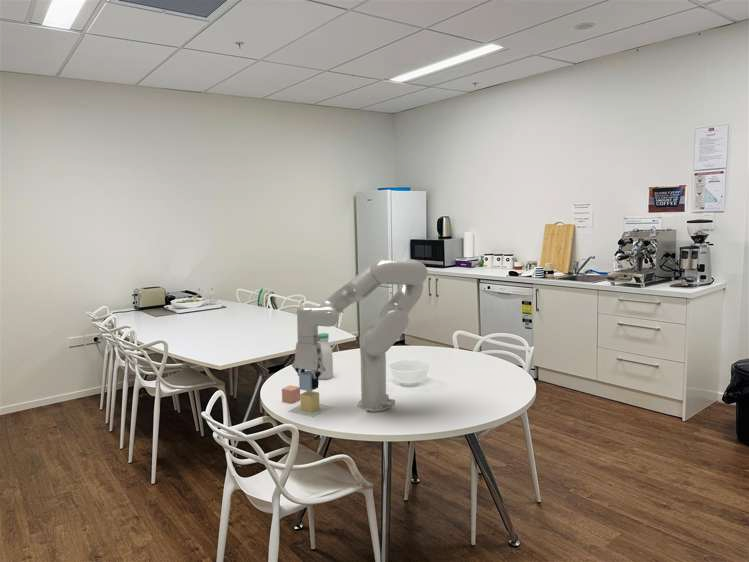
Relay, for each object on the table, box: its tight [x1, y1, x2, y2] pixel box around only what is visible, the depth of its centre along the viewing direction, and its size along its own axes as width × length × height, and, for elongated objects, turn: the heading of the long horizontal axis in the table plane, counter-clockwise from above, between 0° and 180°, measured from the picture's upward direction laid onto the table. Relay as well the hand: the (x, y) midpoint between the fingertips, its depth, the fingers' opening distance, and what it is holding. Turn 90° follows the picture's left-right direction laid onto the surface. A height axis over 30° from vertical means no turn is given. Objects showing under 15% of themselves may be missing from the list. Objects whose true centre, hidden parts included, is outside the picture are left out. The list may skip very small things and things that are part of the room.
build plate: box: [287, 403, 333, 418], centre depth 205 cm, size 12×12×1 cm
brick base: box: [299, 390, 320, 412], centre depth 204 cm, size 5×5×6 cm
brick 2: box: [298, 370, 319, 392], centre depth 203 cm, size 5×5×6 cm
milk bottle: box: [318, 332, 334, 380], centre depth 245 cm, size 8×8×20 cm
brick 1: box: [281, 385, 301, 405], centre depth 214 cm, size 5×5×6 cm
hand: (308, 386), depth 203 cm, fingers closed on brick 2, 5 cm apart
